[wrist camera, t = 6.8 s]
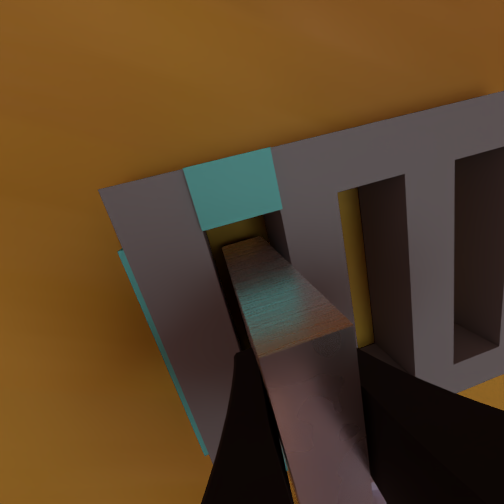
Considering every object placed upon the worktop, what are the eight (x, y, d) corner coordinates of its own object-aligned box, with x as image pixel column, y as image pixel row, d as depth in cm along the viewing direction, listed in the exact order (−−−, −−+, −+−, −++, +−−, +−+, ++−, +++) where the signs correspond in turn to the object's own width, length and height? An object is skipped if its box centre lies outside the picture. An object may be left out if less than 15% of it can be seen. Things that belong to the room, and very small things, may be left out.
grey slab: (291, 371, 14) (378, 551, 7) (260, 382, 13) (321, 579, 7) (260, 235, 11) (354, 325, 4) (221, 246, 11) (259, 358, 4)
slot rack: (478, 330, 17) (542, 364, 13) (214, 431, 14) (217, 499, 11) (488, 99, 12) (584, 70, 9) (119, 190, 10) (83, 192, 7)
